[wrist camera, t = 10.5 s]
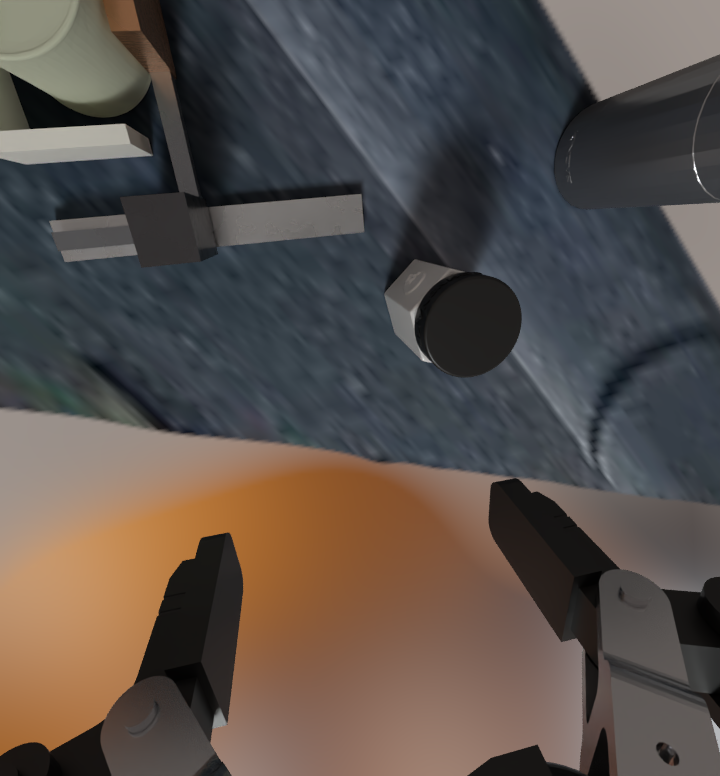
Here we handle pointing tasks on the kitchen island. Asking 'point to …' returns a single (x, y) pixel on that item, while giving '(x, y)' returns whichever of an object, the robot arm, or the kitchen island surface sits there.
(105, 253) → the rail
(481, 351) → the jar
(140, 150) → the frame
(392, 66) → the kitchen island surface
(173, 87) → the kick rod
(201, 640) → the robot arm
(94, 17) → the can
